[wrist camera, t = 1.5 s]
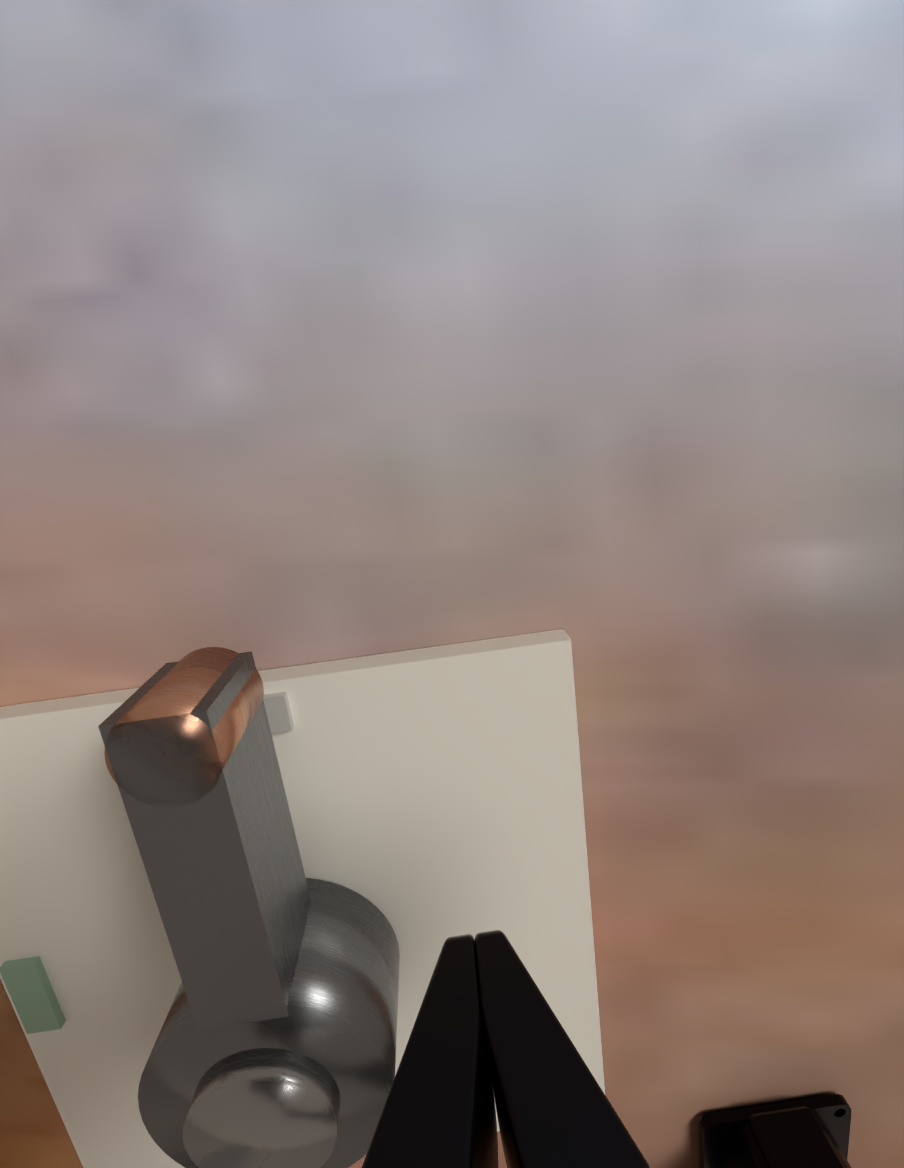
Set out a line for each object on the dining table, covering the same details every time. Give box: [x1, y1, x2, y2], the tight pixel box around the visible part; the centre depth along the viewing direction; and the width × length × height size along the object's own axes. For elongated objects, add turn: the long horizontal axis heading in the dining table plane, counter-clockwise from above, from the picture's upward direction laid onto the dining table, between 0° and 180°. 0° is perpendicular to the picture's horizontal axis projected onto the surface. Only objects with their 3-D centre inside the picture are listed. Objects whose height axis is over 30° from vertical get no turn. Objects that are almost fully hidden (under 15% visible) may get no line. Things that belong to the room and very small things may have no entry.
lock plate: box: [0, 629, 605, 1168], centre depth 21 cm, size 21×21×1 cm
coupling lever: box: [98, 647, 400, 1168], centre depth 16 cm, size 16×7×5 cm, turn 7°
